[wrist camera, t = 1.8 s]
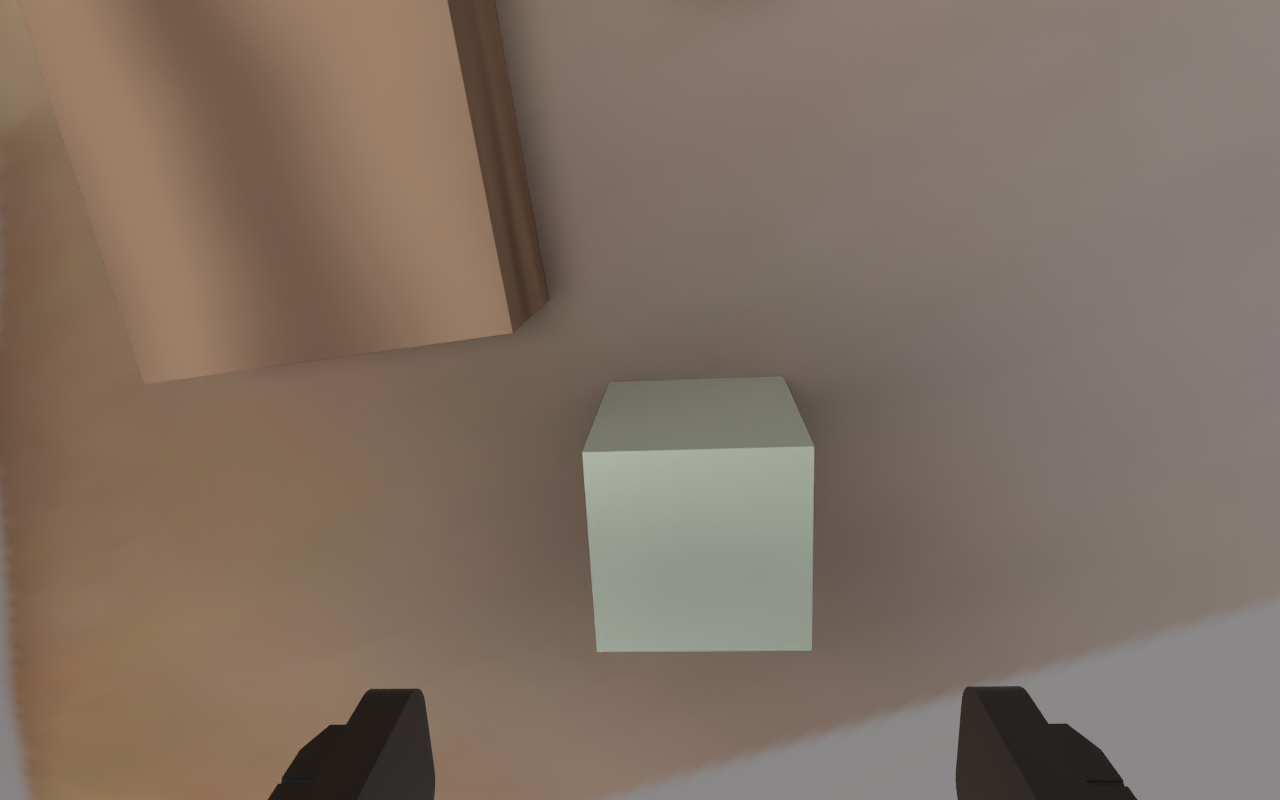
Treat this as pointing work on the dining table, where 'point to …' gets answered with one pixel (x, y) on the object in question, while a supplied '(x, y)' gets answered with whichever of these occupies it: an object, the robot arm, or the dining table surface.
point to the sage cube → (700, 517)
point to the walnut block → (294, 174)
